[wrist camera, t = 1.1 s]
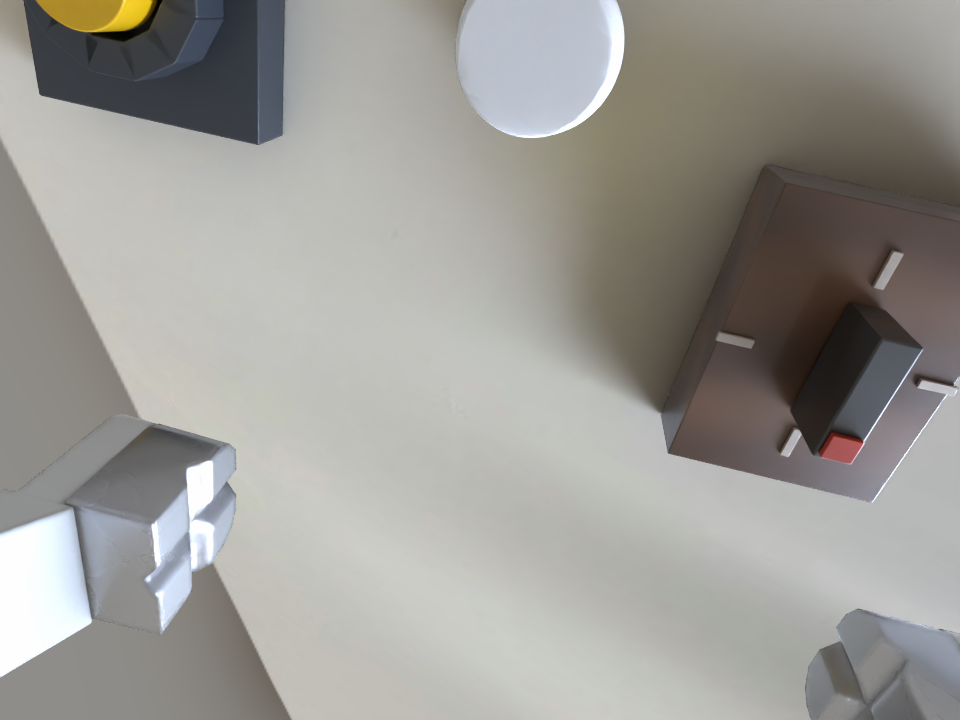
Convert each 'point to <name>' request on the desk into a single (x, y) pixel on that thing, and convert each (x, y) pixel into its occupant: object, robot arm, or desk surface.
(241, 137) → the button block
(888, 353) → the dial knob
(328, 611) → the desk surface
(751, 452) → the dial panel
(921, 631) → the robot arm
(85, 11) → the trigger button
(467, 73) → the supplement bottle
